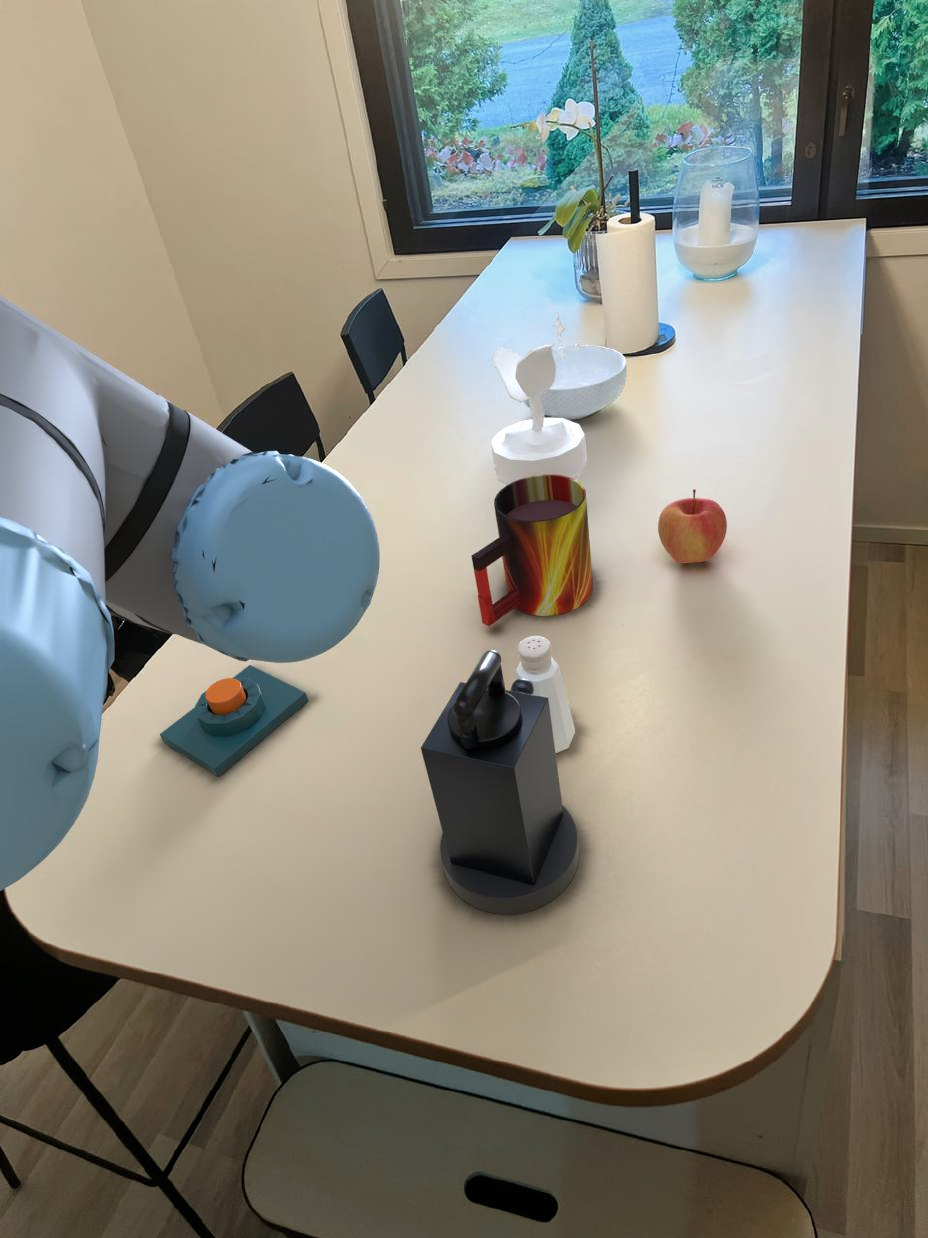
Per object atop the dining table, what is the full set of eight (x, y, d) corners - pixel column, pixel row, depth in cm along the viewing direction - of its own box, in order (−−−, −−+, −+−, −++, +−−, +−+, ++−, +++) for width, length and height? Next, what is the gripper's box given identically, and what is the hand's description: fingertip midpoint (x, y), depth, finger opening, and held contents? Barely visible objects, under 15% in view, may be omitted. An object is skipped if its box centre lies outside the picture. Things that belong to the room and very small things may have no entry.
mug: (482, 634, 94) (465, 541, 86) (522, 561, 103) (510, 472, 96) (569, 645, 90) (559, 548, 83) (602, 568, 100) (596, 476, 93)
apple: (656, 576, 97) (655, 515, 92) (661, 540, 103) (659, 480, 98) (725, 577, 95) (727, 514, 90) (726, 540, 101) (728, 479, 96)
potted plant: (607, 511, 110) (594, 312, 94) (523, 540, 107) (497, 342, 92) (561, 472, 119) (543, 286, 104) (483, 498, 117) (453, 312, 102)
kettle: (534, 885, 66) (505, 720, 55) (450, 863, 68) (408, 701, 58) (578, 778, 73) (560, 615, 63) (501, 762, 76) (472, 603, 65)
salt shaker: (516, 718, 83) (501, 628, 76) (573, 712, 82) (563, 621, 76) (518, 760, 79) (502, 668, 72) (578, 754, 78) (568, 661, 71)
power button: (226, 720, 85) (220, 707, 84) (203, 707, 87) (197, 695, 86) (253, 698, 87) (248, 685, 86) (231, 686, 89) (225, 673, 88)
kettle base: (491, 941, 65) (487, 925, 64) (420, 845, 73) (415, 830, 72) (607, 865, 68) (606, 849, 67) (528, 782, 76) (525, 766, 75)
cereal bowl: (638, 423, 127) (636, 377, 123) (525, 441, 128) (519, 396, 124) (617, 378, 141) (615, 335, 136) (515, 395, 142) (509, 353, 137)
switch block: (218, 777, 83) (207, 755, 81) (163, 742, 88) (152, 721, 86) (308, 700, 90) (301, 679, 88) (253, 672, 95) (244, 651, 93)
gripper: (99, 814, 42) (15, 728, 59) (337, 385, 47) (198, 419, 64) (-61, 754, 37) (-102, 680, 54) (221, 290, 43) (104, 354, 60)
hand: (60, 539), depth 59 cm, fingers open, 13 cm apart
